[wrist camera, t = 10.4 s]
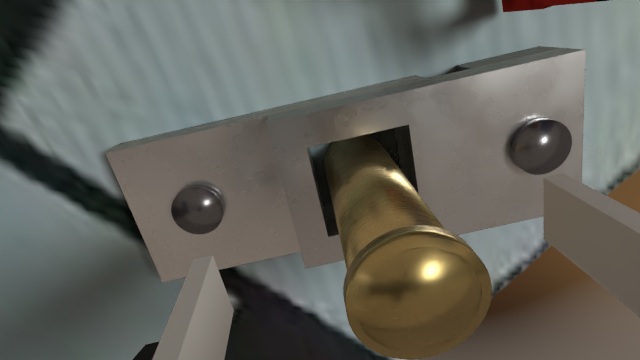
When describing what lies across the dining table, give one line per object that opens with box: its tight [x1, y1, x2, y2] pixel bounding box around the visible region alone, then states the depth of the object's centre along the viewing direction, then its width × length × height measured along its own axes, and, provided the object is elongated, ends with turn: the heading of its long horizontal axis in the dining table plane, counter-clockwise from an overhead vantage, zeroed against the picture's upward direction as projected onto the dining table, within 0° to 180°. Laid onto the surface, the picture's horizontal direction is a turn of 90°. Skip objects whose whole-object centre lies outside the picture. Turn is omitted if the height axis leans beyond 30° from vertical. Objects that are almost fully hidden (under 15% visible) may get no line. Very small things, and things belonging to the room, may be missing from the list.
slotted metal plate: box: [105, 46, 586, 282], centre depth 23 cm, size 26×9×5 cm, turn 102°
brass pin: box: [324, 134, 492, 359], centre depth 19 cm, size 5×5×14 cm
